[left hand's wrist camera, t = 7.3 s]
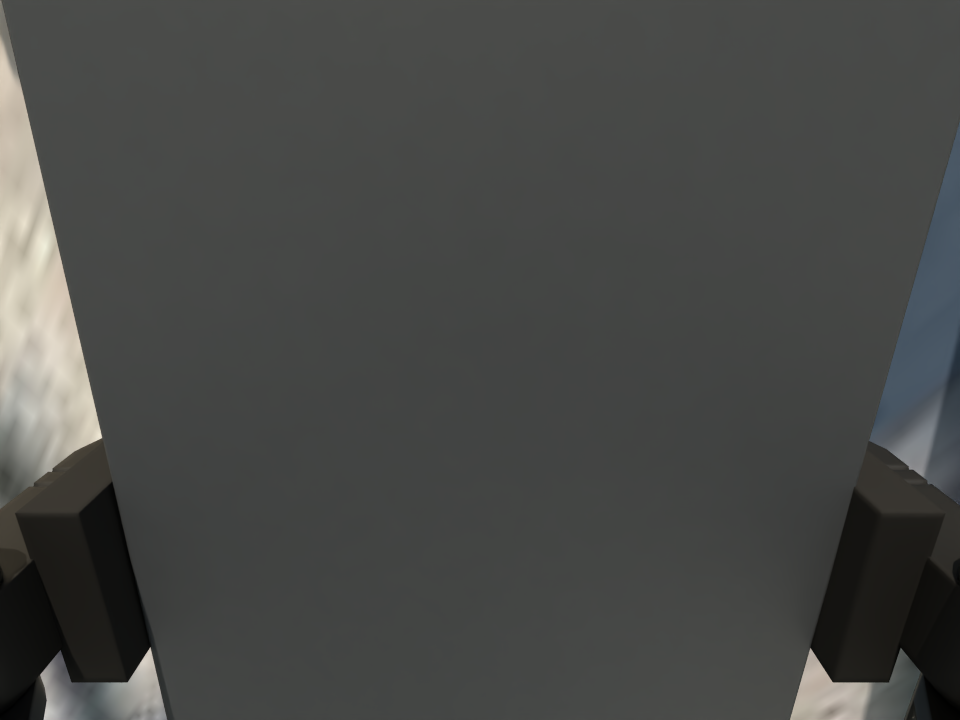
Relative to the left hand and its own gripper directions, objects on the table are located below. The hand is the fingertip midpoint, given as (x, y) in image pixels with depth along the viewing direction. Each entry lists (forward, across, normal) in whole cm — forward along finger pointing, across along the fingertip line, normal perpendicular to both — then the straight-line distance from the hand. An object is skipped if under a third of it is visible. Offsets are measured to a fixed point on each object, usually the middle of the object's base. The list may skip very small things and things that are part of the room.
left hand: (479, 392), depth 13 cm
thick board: (0, 0, -28) cm, 29 cm away
